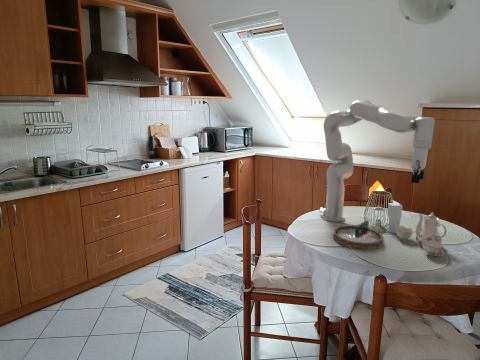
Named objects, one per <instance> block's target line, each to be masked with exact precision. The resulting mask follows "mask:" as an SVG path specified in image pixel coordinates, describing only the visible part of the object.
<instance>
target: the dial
mask: <svg viewBox="0 0 480 360" xmlns="http://www.w3.org/2000/svg"><path fill="white" fill-rule="evenodd" d="M369 222H370V219H365V220H364V221H363V222H360V223H359V224H358V225H355V226H356V228H344V229H341V230H339V231H338V232H337V235H338V236H340V237H341V238H343V239H346V240H350V241H353V242H362V243H370V242H377V241H378V239H380V238H379V236H378V235H377V234H376V233H374V232H371V231H368V228H369Z"/></svg>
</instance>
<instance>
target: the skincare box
mask: <svg viewBox="0 0 480 360" xmlns="http://www.w3.org/2000/svg"><path fill="white" fill-rule="evenodd" d="M392 201H393V203H388V216H389V224H388V230H387V231H386V232H387V233H396V230H395V227H400V223H401V218H402V213H403V205H402V204H401V203H399V202H397V201H395V200H392Z"/></svg>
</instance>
